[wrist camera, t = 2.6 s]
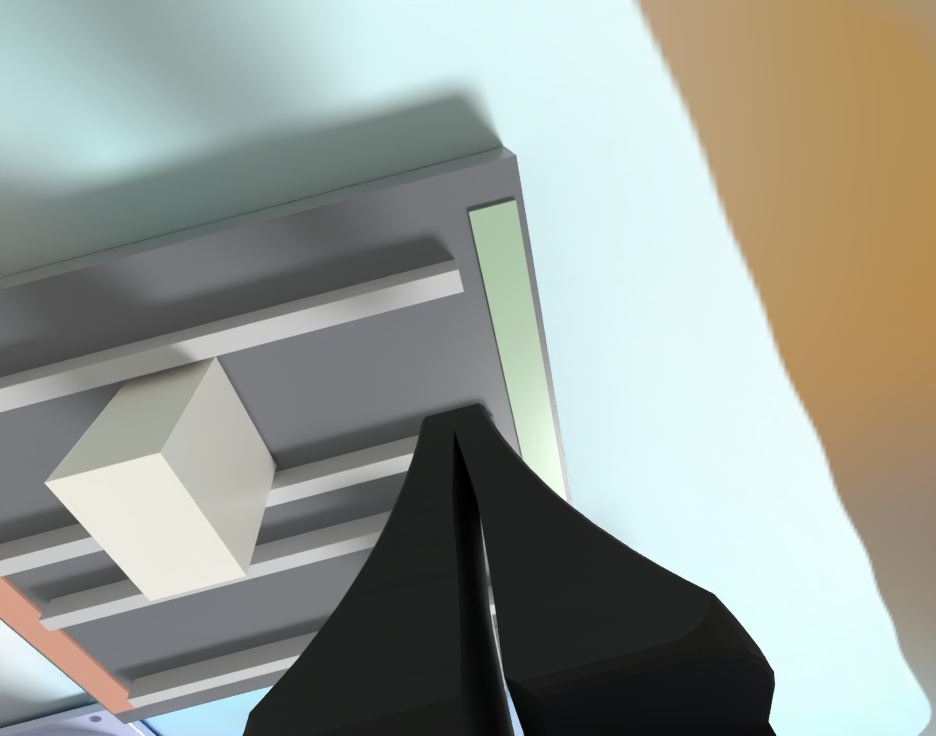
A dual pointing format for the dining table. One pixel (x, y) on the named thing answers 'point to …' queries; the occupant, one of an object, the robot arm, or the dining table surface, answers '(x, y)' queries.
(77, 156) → the dining table surface
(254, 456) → the block
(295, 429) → the breaker panel
